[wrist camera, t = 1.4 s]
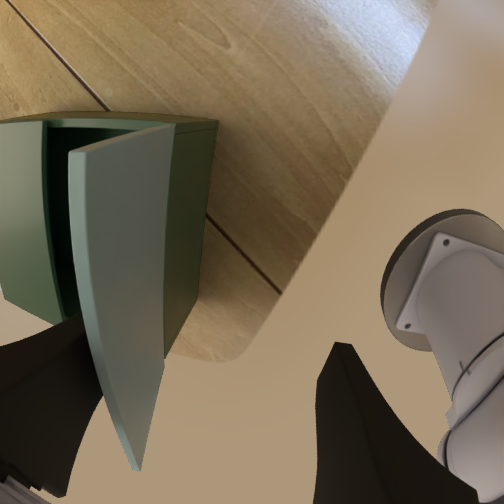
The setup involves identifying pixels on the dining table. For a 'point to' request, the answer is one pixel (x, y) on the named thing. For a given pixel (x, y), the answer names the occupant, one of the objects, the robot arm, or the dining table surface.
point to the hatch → (123, 270)
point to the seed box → (58, 216)
